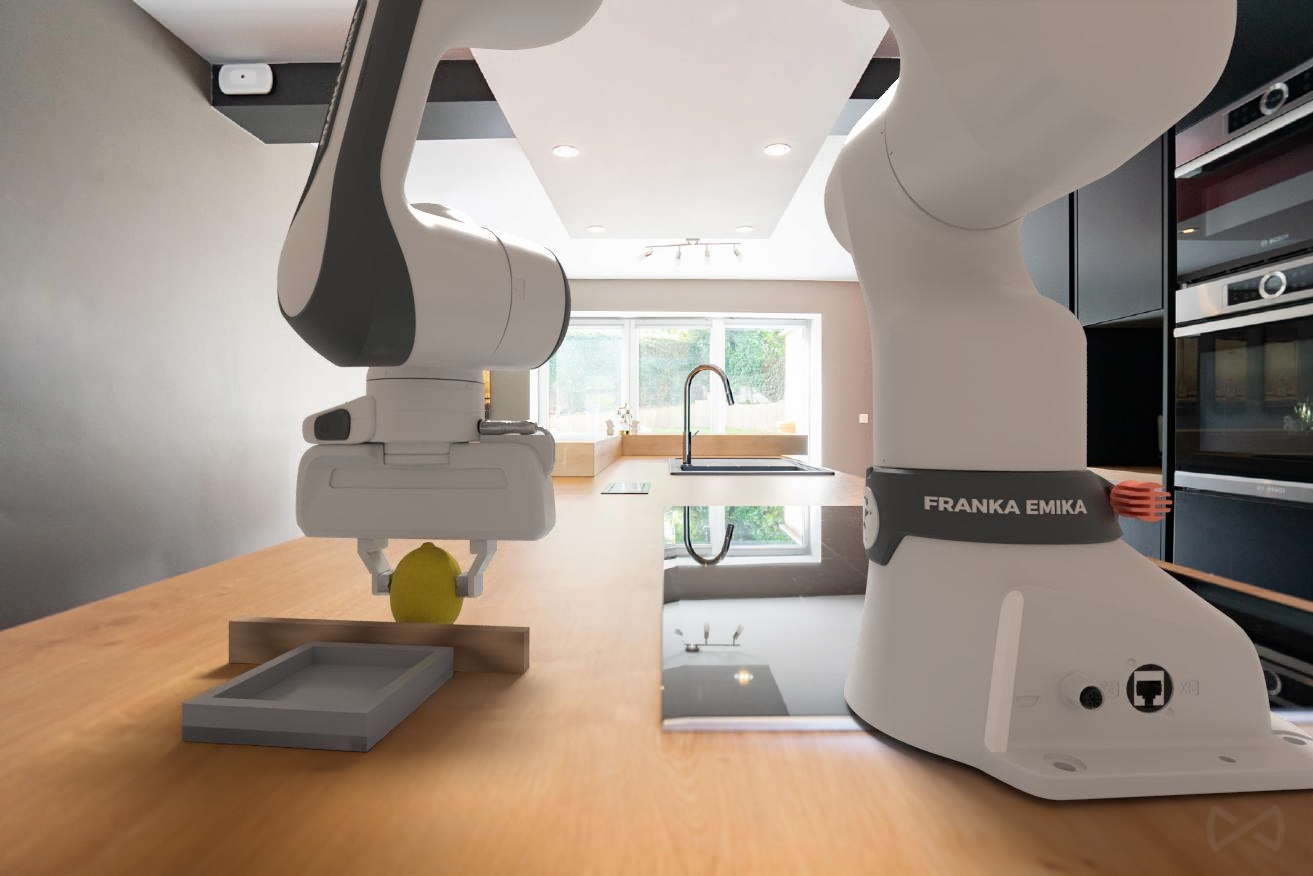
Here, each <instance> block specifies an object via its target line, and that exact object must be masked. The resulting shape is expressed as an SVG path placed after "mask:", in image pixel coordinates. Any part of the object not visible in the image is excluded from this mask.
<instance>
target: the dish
mask: <svg viewBox="0 0 1313 876" xmlns="http://www.w3.org/2000/svg"><path fill="white" fill-rule="evenodd" d="M453 656H454V647H437V646H413V645H389V644H364V643H340V642H316V641H309V642H307V643H305V644H303V645H301V646H299V647H297V648H295V649H293V650H291V651H289V652H287V653H285V654H283V655H281V656H279V657H277V658H274V659H272V660H270V661H268V662H266V663H264V664H259V665H258V666H256V667H254V668H252V669H250V670H248V671H246V672H244V673H242V674H240V675H237V676H236V677H233V678H231V679H229V680H227V681H226V682H223V683H221V684H219V685H217V686H215V687H213V688H211V689H209V690H207V691H205V692H203V693H200V694H198V695H197V696H194V697H192V698H190V699H188V700H186V701H184V702H183V703H181V718H182V719H181V741H183V742H196V743H197V742H199V743H213V744H214V743H216V744H231V745H247V746H265V747H277V748H279V747H281V748H297V749H314V750H328V751H330V750H331V751H344V752H345V751H346V752H347V751H348V752H361V753H367V752H368V751H369V750H371V749H372V748H373V747H374V746H375V745H377V743H378V742H380V741H381V740H382V739H383V738H385V737H386V736H387V735H388V734H389V733H390V732H391V731H393V730H394V729H395V728H396V727H397V726H398V725H399V724H401V723H402V722H403V721H404V720H405V719H406V718H408V717H409V716H410V715H411V714H412V713H414V711H415V710H417V709H418V708H419V707H420V706H421V705H422V704H423V703H424V702H425V701H426V700H427V699H428V698H430V697H431V696H432V695H433V694H434V693H436V692H437V690H439V688H441V686H443V685H444V684H445V683H446V682H447V681H448V680H449V679H451V678H452V677H453V676H454V671H453Z"/></svg>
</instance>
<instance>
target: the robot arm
mask: <svg viewBox="0 0 1313 876" xmlns="http://www.w3.org/2000/svg"><path fill="white" fill-rule="evenodd" d="M603 1H604V0H357V2H356V6H355V9H354V12H353V16H352V19H351V23H350V26H349V29H348V33H347V37H346V40H345V44H344V47H343V51H342V55H341V58H340V62H339V66H338V69H337V70H338V71H337V74H336V77H335V81H334V84H333V88H332V92H331V96H330V100H329V103H328V107H327V111H326V114H325V118H324V121H323V126H322V128H321V129H322V130H321V134H320V136H319V139H318V140H319V141H318V144H317V148H316V151H315V154H314V155H315V156H314V158H313V161H312V166H311V168H310V170H309V171H310V172H309V175H308V177H307V180H306V183H305V185H304V188H303V191H302V194H301V195H300V198H299V201H298V204H297V205H296V209H295V211H294V214H293V217H292V219H291V223H290V225H289V227H288V230H287V233H286V237H285V240H284V243H283V245H282V248H281V251H280V255H279V261H278V267H277V273H276V274H277V275H276V281H277V282H276V284H277V291H276V293H277V304H278V307H279V310H280V313H281V315H282V317H283V318H284V320H285V321H286V323H288V325H289V326H290V327H291V328H292V330H293V331H294V332H295V333H296V334H297V335H298V336H299V337H300V338H301V339H302V340H303V341H304V342H305V343H306V344H307V345H308V346H309V347H310V348H312V350H314V351H315V352H316V353H317V354H319V356H320V357H321V356H322V357H323V358H324V359H325V360H326V361H328V362H330V363H331V364H333V365H335V366H337V367H339V368H368V369H367V372H366V377H365V381H366V382H365V383H366V384H365V386H366V387H365V390H366V391H365V395H362V396H359V397H356V398H355V399H352V400H349V401H347V402H343V403H341V404H339V405H335V406H331V407H329V408H327V409H324V410H321V411H318V412H315V413H312V414H310V415H308V416H306V417H305V418H304V419H303V421H302V425H301V426H302V431H301V433H302V438H303V440H304V441H305V442H306V443H308V444H312V446H311V447H309V448H307V450H305V452H304V453H303V454H302V455H301V457H300V461H299V462H298V463H299V464H298V469H297V477H296V490H295V520H296V525H297V526H298V528H299V530H300V531H301V532H302V533H303V534H304V536H305V537H307V538H308V539H309V538H311V539H313V538H319V539H320V538H321V539H357V541H356V542H357V543H356V546H357V547H356V548H357V554H358V556H359V557H360V559H361V561H362V563H363V564H364V566H365V567H366V570H367V571H368V573H369V574H371V594H372V595H373V596H376V597H377V596H378V597H380V596H384V597H386V596H387V597H388V596H389V597H390V589H391V583H392V579H393V575H394V572H395V569H392V568H391V566H390V564H389V562H388V560H387V557H386V555H385V553H384V551H383V550H385V549H388V547H389V540H431V541H432V540H434V541H435V540H437V541H439V540H442V541H445V540H447V541H469V554H470V555H476V556H475V558H474V560H473V561H472V564H471V566H470V568H469V570H468V571H464V572H462V574H460V575H458V576H456V585H457V586H458V589H457V590H456V594H457V597H458V598H464V599H478V598H479V597H480V596H482V595H483V591H484V572H486V570H487V569H488V567H489V564H490V563H491V561H492V560H493V557H494V556H495V554H496V552H497V550H498V542H499V541H502V542H505V541H506V542H507V541H508V542H511V541H512V542H536V541H538V540H539V541H540V540H541V539H543V538H545V537H546V536H548V535H549V534H550V532H551V531H552V530H553V528H554V527H555V526H556V522H557V521H556V520H557V515H556V514H557V511H556V500H555V489H554V484H553V478H552V472H553V471H554V470H555V469H554V468H555V465H556V442H555V441H556V440H555V438H554V436H553V434H552V433H551V432H550V430H548V429H547V428H546V427H544V426H542V425H539V424H538V422H537V421H535V420H530V419H525V420H524V419H522V420H521V419H520V420H518V421H517V420H516V421H510V420H501V419H500V420H498V419H497V420H495V419H494V420H492V419H491V420H487V419H486V418H485V415H486V414H485V413H486V409H485V407H486V405H485V404H486V400H485V398H486V397H485V396H486V395H485V391H486V390H485V389H486V388H485V387H486V386H485V379H484V375H483V374H484V373H483V371H486V372H501V373H517V372H524V371H528V370H536V369H538V368H541V367H542V366H544V365H545V364H546V363H547V362H549V361H550V359H551V358H553V357H554V355H556V353H557V352H558V350H559V348H560V347H561V346H562V344H563V342H564V341H565V337H566V335H567V333H568V329H569V325H570V321H571V320H570V319H571V313H572V312H571V311H572V310H571V309H572V297H571V288H570V284H569V280H568V276H567V273H566V271H565V269H564V267H563V265H562V263H561V262H560V259H559V258H557V256H556V255H555V254H554V252H553V251H552V250H550V249H549V248H547V247H544V246H541V245H540V244H538V243H535V242H534V241H531V240H528V239H526V238H522V237H519V236H515V235H511V234H509V233H504V232H501V231H498V230H495V229H490V228H488V227H484V226H479V225H477V223H476V222H475V221H474V220H473V219H472V218H471V217H470V216H469V215H467V214H466V213H464V212H463V211H461V210H458V209H456V208H454V207H452V206H448V205H444V204H438V203H430V202H428V203H427V202H421V203H420V202H419V203H410V202H409V200H408V199H407V196H406V192H405V183H406V179H407V175H408V172H409V168H410V163H411V161H412V156H413V152H414V149H415V145H416V142H417V138H418V133H419V131H420V126H421V124H422V119H423V115H424V111H425V107H426V104H427V100H428V97H429V93H430V90H431V84H432V83H433V82H432V81H433V78H434V74H435V71H436V69H437V67H438V64H439V62H440V60H441V59H442V58H443V56H444V55H445V53H446V52H448V51H449V50H450V49H451V50H452V49H482V50H498V51H499V50H500V51H519V50H522V51H523V50H531V49H537V48H542V47H545V46H547V47H548V46H551V45H552V44H556V43H559V42H561V41H564V40H565V39H568V38H570V37H572V36H573V35H574V34H576V33H577V32H579V31H580V30H581V29H583V28H584V27H585V26H586V24H588V23H589V22H590V20H592V18H594V16H595V14H596V13H597V12H598V10H599V9H600V7H601V6H602V3H603ZM840 1H841V2H843V3H845V4H847V5H849V6H852V7H855V8H859V9H862V10H863V9H864V10H869V11H880V13H881V14H882V15H883V18H884V19H885V20H886V21H887V24H888V25H889V27H890V29H891V31H892V33H893V35H894V38H895V41H896V42H897V46H898V51H899V59H900V61H899V63H900V64H899V65H900V68H899V69H900V70H899V75H898V79H897V80H896V81H895V82H894V83H893V84H891V86H890V87H889V88H888V90H886V91H885V93H884V94H883V95H882V96H880V98H879V99H878V100H877V101H876V102H875V103H874V104H873V105H872V106H871V108H869V110H868V111H867V112H866V113H864V115H863V116H862V117H861V119H860V120H858V122H857V123H856V124H855V125H854V127H853V128H852V130H851V131H850V132H849V134H848V136H847V138H846V140H845V142H844V144H843V145H842V148H841V149H840V151H839V153H838V155H837V157H836V159H835V162H834V164H833V166H832V168H831V171H830V173H829V175H828V178H827V181H826V184H825V189H824V195H823V207H824V213H825V218H826V221H827V224H828V227H829V230H830V231H831V233H832V235H833V237H834V238H835V240H836V241H837V242H838V244H839V246H841V247H842V249H844V250H845V251H846V252H847V253H849V254H850V255H851V259H852V262H853V264H854V269H855V273H856V276H857V280H858V283H859V287H860V291H861V295H862V298H863V303H864V307H865V312H866V317H867V323H868V328H869V329H868V330H869V336H870V343H871V344H870V345H871V347H870V348H871V357H872V358H871V359H872V362H871V364H872V366H871V367H872V369H871V370H872V372H871V373H872V465H868V467H867V468H866V469H865V484H864V487H863V490H862V493H863V494H862V495H863V496H862V541H863V547H864V549H865V550H864V551H865V554H866V555H865V556H866V557H867V558H868V570H867V580H866V589H865V596H864V597H865V598H864V604H863V612H862V617H861V622H860V628H859V634H858V637H857V638H858V640H857V642H856V643H857V644H856V647H855V651H854V656H853V658H852V659H853V660H852V662H851V666H850V670H849V674H848V676H847V679H846V682H845V684H844V689H843V695H844V699H845V701H846V703H847V704H848V706H849V707H850V708H851V710H852V712H855V714H856V715H857V716H859V717H860V718H861V719H862V720H863V721H865V722H866V723H868V724H869V725H871V726H872V727H874V728H875V729H877V730H879V731H880V732H882V733H884V734H886V735H888V736H890V737H892V738H894V739H896V740H898V741H900V742H903V743H905V744H907V745H910V746H913V747H915V748H918V749H920V750H923V751H925V752H929V753H932V754H934V755H938V756H941V757H944V758H947V759H949V760H954V761H957V762H960V763H962V764H966V765H969V766H972V767H974V768H976V769H978V770H981V771H983V772H984V773H986V774H988V775H990V776H991V777H994V778H996V779H998V780H999V781H1001V782H1003V783H1006V784H1007V785H1010V786H1012V787H1013V788H1016V789H1018V790H1020V791H1022V792H1025V793H1027V794H1030V795H1031V796H1032V795H1033V796H1035V797H1038V798H1043V799H1047V800H1056V801H1066V800H1067V801H1070V800H1088V799H1089V800H1090V799H1091V800H1092V799H1115V798H1133V797H1134V798H1136V797H1155V796H1159V797H1160V796H1175V795H1176V796H1177V795H1197V794H1198V795H1199V794H1219V793H1220V794H1221V793H1222V794H1224V793H1239V792H1240V793H1241V792H1242V793H1243V792H1244V793H1245V792H1260V791H1261V792H1262V791H1263V792H1264V791H1282V790H1302V789H1303V790H1306V789H1307V790H1308V789H1313V736H1312V735H1310V734H1309V733H1307V732H1306V731H1305V730H1303V729H1301V728H1300V727H1298V726H1297V725H1295V724H1293V723H1292V722H1290V721H1289V720H1287V719H1285V718H1283V716H1282V717H1281V716H1280V715H1278V714H1276V713H1275V712H1273V711H1271V709H1270V708H1271V707H1270V702H1269V694H1268V688H1267V684H1266V679H1265V674H1264V671H1263V666H1262V664H1261V660H1260V657H1259V654H1258V652H1257V650H1256V647H1255V645H1254V643H1253V641H1252V640H1251V638H1250V637H1249V636H1248V635H1247V633H1246V632H1245V630H1244V629H1243V628H1242V627H1241V626H1240V625H1238V624H1237V623H1236V622H1235V621H1234V620H1233V619H1232V618H1230V617H1229V616H1227V615H1226V614H1225V613H1223V612H1222V611H1221V610H1219V609H1217V608H1216V607H1215V606H1213V605H1212V604H1211V603H1209V602H1207V601H1206V600H1205V599H1204V598H1203V597H1202V596H1199V595H1198V594H1197V593H1195V592H1194V591H1192V590H1191V589H1189V588H1188V587H1187V586H1186V585H1185V584H1183V583H1182V582H1180V581H1178V580H1177V579H1176V578H1175V577H1173V576H1172V575H1170V574H1169V573H1168V572H1166V571H1164V570H1163V569H1162V568H1160V567H1159V566H1158V565H1156V564H1155V563H1154V562H1153V561H1152V560H1150V559H1149V558H1147V557H1146V556H1145V555H1143V554H1141V553H1140V552H1139V551H1138V550H1136V549H1135V548H1134V547H1133V546H1131V545H1130V544H1128V543H1127V542H1125V541H1123V540H1122V539H1121V537H1123V536H1124V531H1123V529H1122V527H1121V525H1120V522H1119V518H1120V517H1119V516H1121V517H1123V518H1128V519H1137V520H1140V521H1142V522H1147V523H1154V522H1158V521H1159V522H1160V521H1162V520H1163V519H1165V518H1166V516H1165V515H1158V514H1155V513H1170V512H1171V509H1172V508H1170V507H1169V508H1168V507H1161V506H1156V505H1173V500H1168V499H1160V498H1156V497H1171V496H1172V495H1171V493H1170V492H1169V491H1168V492H1167V491H1158V490H1157V491H1156V490H1155V489H1166V487H1165V486H1164V485H1163V484H1160V483H1157V482H1153V481H1137V480H1131V479H1128V480H1123V481H1121V482H1119V483H1117V484H1114V483H1112V482H1111V481H1109V480H1108V479H1106V478H1105V477H1103V476H1101V475H1099V474H1097V473H1095V472H1093V471H1092V470H1090V469H1087V465H1088V464H1087V462H1088V461H1087V459H1088V458H1087V453H1088V452H1087V451H1088V450H1087V445H1088V443H1087V441H1088V438H1087V435H1088V433H1087V432H1088V431H1087V430H1088V429H1087V427H1088V424H1087V421H1088V420H1087V419H1088V418H1087V417H1088V415H1087V413H1088V411H1087V409H1088V403H1087V401H1088V399H1087V397H1088V395H1087V393H1088V392H1087V391H1088V387H1087V386H1088V376H1087V375H1088V370H1087V369H1088V368H1087V367H1088V364H1087V362H1088V360H1087V359H1088V358H1087V357H1088V356H1087V354H1088V352H1087V348H1088V347H1087V345H1088V342H1087V336H1086V333H1085V330H1084V327H1083V326H1082V324H1081V322H1080V321H1079V319H1078V317H1077V316H1076V315H1075V314H1074V313H1073V312H1072V311H1071V310H1070V309H1068V308H1067V307H1066V306H1064V305H1062V303H1059V302H1058V301H1055V300H1054V299H1051V298H1049V297H1048V296H1045V295H1043V294H1041V293H1040V291H1038V289H1037V288H1036V286H1035V284H1034V282H1033V280H1032V278H1031V276H1030V273H1029V271H1028V270H1029V269H1028V268H1027V265H1026V262H1025V258H1024V254H1023V250H1022V244H1021V243H1022V242H1021V232H1022V231H1021V230H1022V225H1023V223H1024V219H1025V216H1026V215H1028V214H1029V213H1031V212H1034V211H1036V210H1037V209H1040V208H1042V207H1043V206H1044V207H1045V205H1049V204H1050V203H1052V202H1055V201H1056V200H1058V199H1061V198H1063V197H1064V196H1065V197H1066V195H1069V194H1071V193H1073V192H1075V191H1077V190H1079V189H1081V188H1083V187H1086V186H1087V185H1090V184H1091V183H1093V182H1096V181H1098V180H1099V179H1102V178H1104V177H1106V176H1107V175H1110V174H1111V173H1112V172H1114V171H1116V170H1117V169H1118V168H1120V167H1121V166H1122V165H1124V164H1125V163H1126V162H1128V161H1129V160H1130V159H1131V158H1133V157H1135V156H1136V155H1137V154H1138V153H1139V152H1141V151H1142V150H1143V149H1145V148H1146V147H1148V146H1149V145H1151V143H1152V142H1154V141H1156V140H1157V139H1158V138H1160V136H1162V135H1163V134H1164V133H1166V132H1167V131H1168V130H1169V129H1170V128H1172V127H1173V126H1174V125H1176V124H1177V123H1178V122H1180V120H1181V119H1183V118H1184V117H1185V116H1187V115H1188V114H1189V113H1191V112H1192V111H1193V110H1194V109H1196V108H1197V107H1198V106H1199V104H1201V103H1202V102H1203V101H1204V100H1205V99H1206V98H1207V96H1208V95H1210V93H1211V92H1212V90H1213V89H1214V87H1215V86H1216V85H1217V83H1218V82H1219V80H1220V77H1221V76H1222V74H1223V73H1224V70H1225V68H1226V66H1227V63H1228V60H1229V57H1230V54H1231V50H1232V47H1233V43H1234V38H1235V33H1236V26H1237V17H1238V16H1237V13H1238V10H1237V9H1238V8H1237V7H1238V0H840ZM538 432H541V433H542V434H537V433H538Z"/></svg>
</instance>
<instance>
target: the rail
mask: <svg viewBox="0 0 1313 876" xmlns="http://www.w3.org/2000/svg"><path fill="white" fill-rule="evenodd" d="M530 631H531V629H530V626H510V625H509V626H507V625H485V624H484V625H483V624H458V623H457V624H455V623H453V624H434V623H407V622H396V621H380V620H378V621H376V620H374V621H372V620H354V619H353V620H351V619H349V620H348V619H324V618H323V619H321V618H319V619H318V618H295V617H272V616H271V617H270V616H267V617H266V616H265V617H264V616H246V615H245V616H243V615H241V616H238V617H236V618H234V619H231V620H229V621H228V663H232V664H250V665H251V664H253V665H255V664H256V665H262V664H264V663H266V662H268V661H270V660H272V659H274V658H277V657H279V656H281V655H283V654H285V653H287V652H289V651H291V650H293V649H295V648H297V647H299V646H301V645H303V644H305V643H307V642H309V641H316V642H340V643H364V644H389V645H413V646H437V647H454V656H453V672H469V673H472V672H473V673H496V674H499V673H500V674H525V673H526V672H527V671H528V669H530V637H531V635H530V633H531V632H530Z"/></svg>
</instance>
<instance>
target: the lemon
mask: <svg viewBox="0 0 1313 876" xmlns="http://www.w3.org/2000/svg"><path fill="white" fill-rule="evenodd" d="M394 570H395V572H394V575H393V579H392V583H391V589H390V596H389V603H390V610H391V611H390V612H391V614H392V617H393V619H394V622H407V623H434V624H455V622H456V621H457V619H458V618H459V616H460V613H461V612H462V608H463V604H464V599H465V598H458V597H457V594H456V590H457V589H458V586H457V585H456V576H458V575H460V574H462V573H463V572H462V569H461V566H460V564H459V562H458V561H457V559H456V557H455V556H454V555H453V554H451V553H450V552H449V551H448V550H446V549H444V548H442V547H439V546H436V545H435V544H434V543H433V542H432V541H430V542H429V541H427V542H423V543H422V544H421V545H420V546H419V547H417V548H415V549H413V550H411V551H409V552H408V553H407V554H406V555H404V556H403V557H402V559H401V560H399V562H398V564H397V565H396V568H395V569H394Z"/></svg>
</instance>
